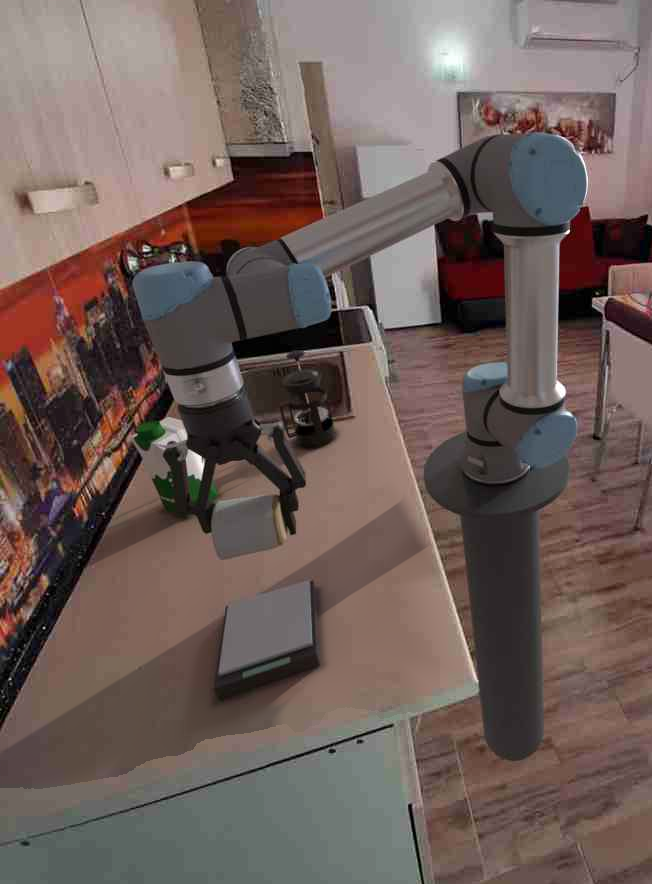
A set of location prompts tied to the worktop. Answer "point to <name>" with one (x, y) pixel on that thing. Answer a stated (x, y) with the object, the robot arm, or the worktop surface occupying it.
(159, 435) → the milk carton
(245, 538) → the ceramic mug
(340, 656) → the worktop surface
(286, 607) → the kitchen scale
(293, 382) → the french press
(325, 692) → the worktop surface
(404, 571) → the worktop surface
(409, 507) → the worktop surface
